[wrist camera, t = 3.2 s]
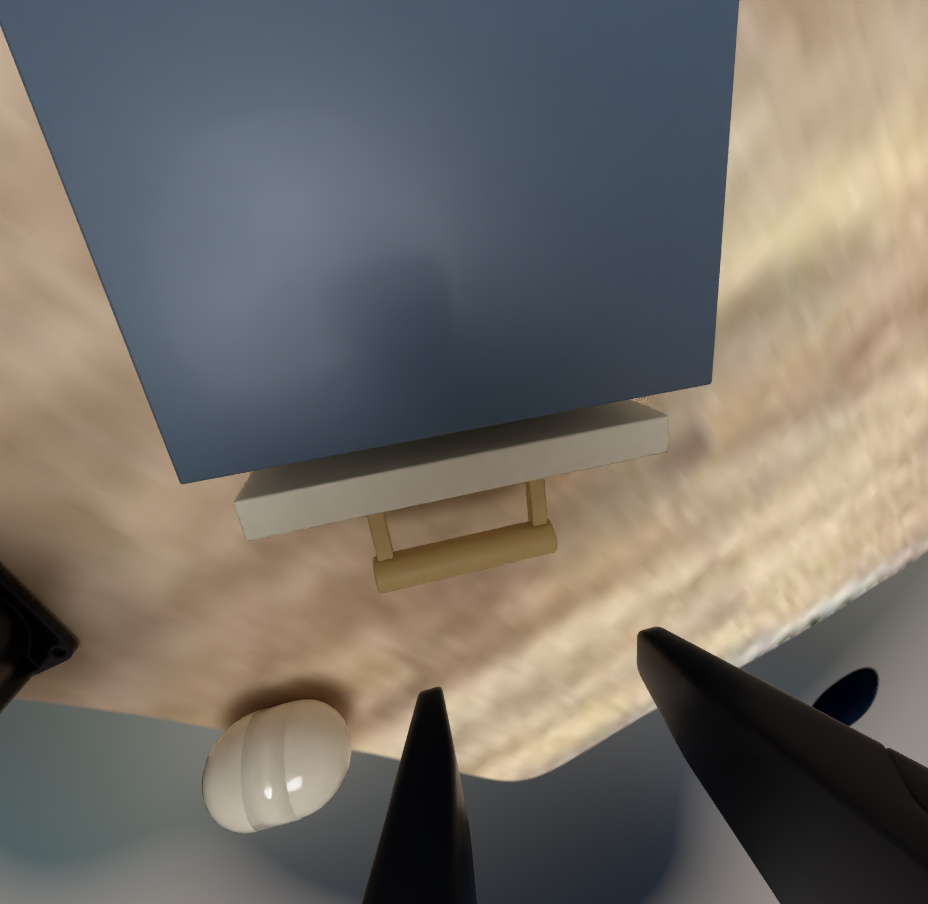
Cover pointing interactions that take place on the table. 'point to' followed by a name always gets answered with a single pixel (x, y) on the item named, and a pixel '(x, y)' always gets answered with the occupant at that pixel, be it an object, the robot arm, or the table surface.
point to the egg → (276, 766)
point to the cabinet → (389, 207)
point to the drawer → (450, 485)
